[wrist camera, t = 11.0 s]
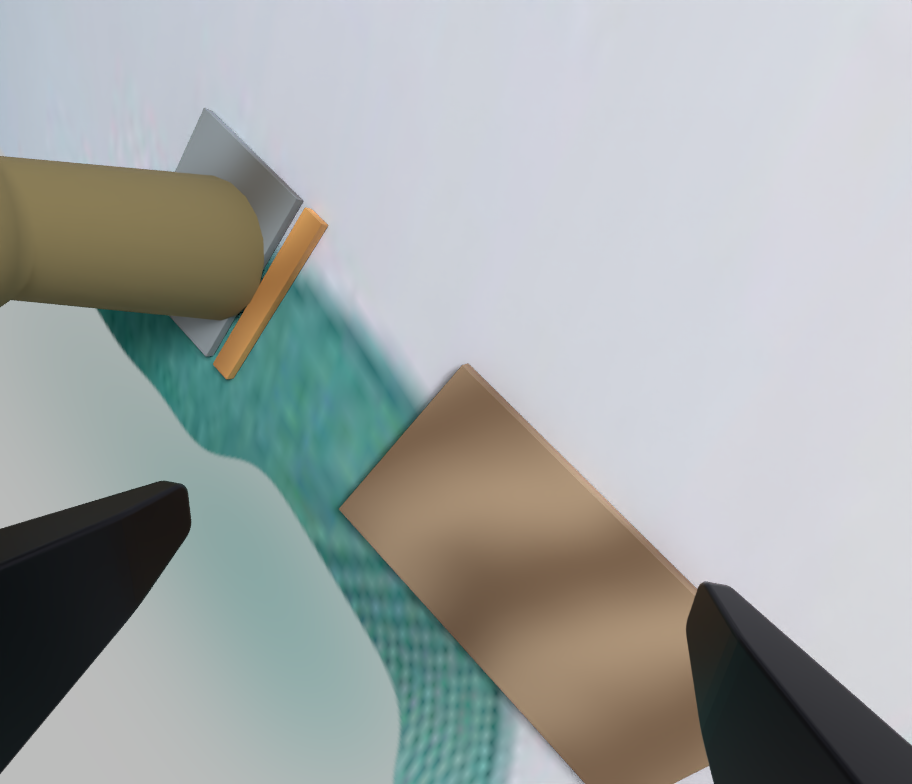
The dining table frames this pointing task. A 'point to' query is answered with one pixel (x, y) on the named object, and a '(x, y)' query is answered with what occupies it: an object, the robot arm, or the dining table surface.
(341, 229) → the dining table surface
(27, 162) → the cork
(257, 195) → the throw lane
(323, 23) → the dining table surface
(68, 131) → the dining table surface
